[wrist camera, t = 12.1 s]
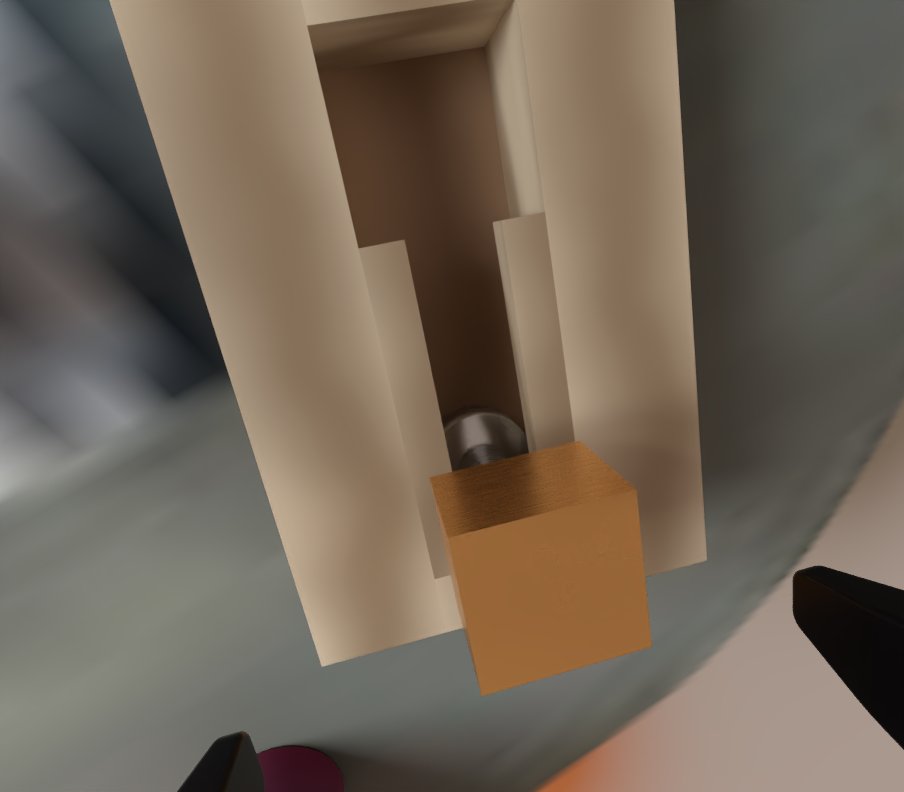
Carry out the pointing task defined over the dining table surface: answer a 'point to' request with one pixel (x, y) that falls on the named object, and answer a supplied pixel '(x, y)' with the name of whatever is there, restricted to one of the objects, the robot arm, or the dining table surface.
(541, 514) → the peg
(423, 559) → the keyhole track
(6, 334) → the dining table surface
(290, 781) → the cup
